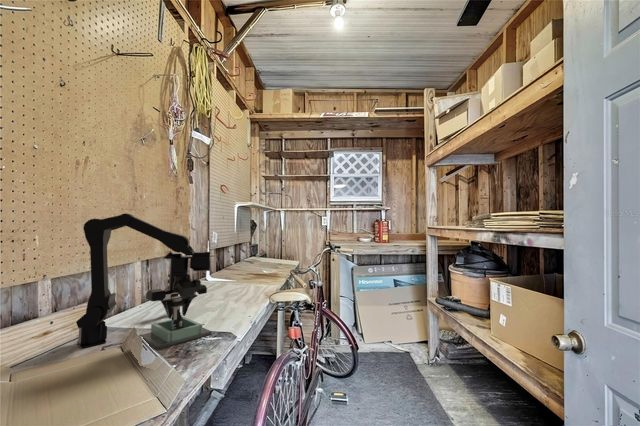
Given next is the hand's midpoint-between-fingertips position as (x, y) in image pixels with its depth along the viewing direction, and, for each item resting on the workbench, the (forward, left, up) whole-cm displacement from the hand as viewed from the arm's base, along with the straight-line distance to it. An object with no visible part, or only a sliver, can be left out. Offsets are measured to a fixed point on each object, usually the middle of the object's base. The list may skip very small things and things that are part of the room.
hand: (176, 317), depth 104 cm
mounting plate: (0, 0, -6) cm, 6 cm away
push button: (0, 0, -4) cm, 4 cm away
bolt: (+11, +27, -7) cm, 30 cm away
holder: (0, 0, -6) cm, 6 cm away
